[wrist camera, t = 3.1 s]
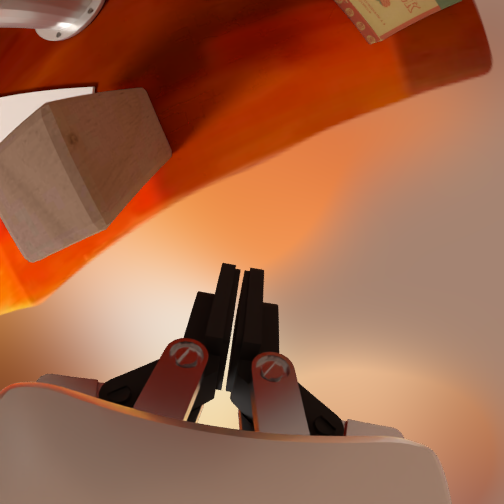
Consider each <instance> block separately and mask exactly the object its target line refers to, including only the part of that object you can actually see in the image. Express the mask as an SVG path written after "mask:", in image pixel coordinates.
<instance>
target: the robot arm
mask: <svg viewBox="0 0 504 504" xmlns="http://www.w3.org/2000/svg"><path fill="white" fill-rule="evenodd" d="M104 2H105V0H0V27H13V28H34V29H35V30H36V32H37V33H38V34H39V36H40V37H42V38H44V39H46V40H50V41H60V40H65V39H68V38H71V37H72V36H74V35H76V34H78V33H79V32H80V31H82V30H83V29H84V28H85V27H87V26H88V25H89V24H90V23H91V22H92V20H93V19H94V18H95V17H96V16H97V14H98V13H99V11H100V10H101V8H102V6H103V4H104ZM235 267H236V265H231V264H226V263H223V264H222V267H221V272H220V275H219V279H218V283H217V288H216V292H215V294H210V293H205V292H198V293H197V296H196V299H195V302H194V305H193V309H192V312H191V315H190V318H189V322H188V325H187V328H186V332H185V335H184V338H180V339H177V340H174V341H173V342H171V343H169V344H168V346H167V347H166V349H165V350H164V352H163V354H162V356H161V357H160V359H159V360H156V361H154V362H152V363H149V364H147V365H144V366H142V367H140V368H137V369H135V370H132V371H130V372H128V373H125V374H123V375H120V376H118V377H115V378H113V379H111V380H109V381H107V382H105V383H99V382H98V380H95V379H85V378H77V377H70V376H62V375H55V374H46V375H43V376H41V377H40V378H39V379H38V380H37V381H36V382H22V383H15V384H12V385H9V386H7V387H6V388H4V389H3V390H2V391H1V392H0V504H452V503H451V498H450V493H449V488H448V484H447V480H446V477H445V473H444V471H443V468H442V465H441V463H440V461H439V459H438V457H437V455H436V454H435V453H434V452H433V450H431V449H430V448H429V447H427V446H425V445H423V444H421V443H418V442H415V441H412V440H408V439H404V437H403V435H402V433H401V432H399V431H398V430H397V429H395V428H392V427H386V426H380V425H375V424H370V423H364V422H359V421H355V420H350V419H348V420H347V421H342V420H341V419H340V418H339V417H338V416H337V415H336V414H335V413H334V412H332V411H331V410H330V409H329V408H327V407H326V406H325V405H324V404H323V403H321V402H320V401H319V400H318V399H317V398H316V397H314V396H313V395H312V394H311V393H310V392H309V391H307V390H306V389H305V388H304V387H302V386H301V385H300V384H299V383H298V382H297V377H296V373H295V369H294V366H293V364H292V362H291V361H290V360H289V359H288V358H287V357H285V356H284V355H282V354H279V321H278V320H279V319H278V318H279V317H278V305H277V304H271V303H264V302H263V285H264V270H261V269H255V268H250V271H245V272H244V277H243V282H242V288H241V293H240V298H239V304H238V309H237V314H236V320H235V326H234V333H233V340H232V348H231V355H230V362H229V370H228V377H227V385H226V391H230V392H231V396H230V399H231V401H232V402H233V404H235V405H236V407H237V408H238V409H239V410H238V417H239V430H237V429H229V428H223V427H216V426H210V425H204V424H199V423H198V420H199V417H200V415H201V412H202V409H203V405H204V404H205V403H206V402H208V401H210V400H212V399H213V398H214V395H215V389H218V390H221V388H222V382H223V376H224V371H225V365H226V360H227V354H228V348H229V343H230V336H231V330H232V323H233V317H234V310H235V303H236V296H237V290H238V282H239V276H240V270H239V269H235Z"/></svg>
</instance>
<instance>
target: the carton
mask: <svg viewBox="0 0 504 504" xmlns="http://www.w3.org/2000/svg"><path fill="white" fill-rule="evenodd" d="M334 1H335V2H336V4H337V5H338V6H339V7H340V8H341V9H342V10H343V12H344V13H345V14H346V15H347V16H348V18H349V19H350V20H351V21H352V22H353V24H354V25H355V26H356V27H357V29H358V30H359V31H360V33H361V34H362V35H363V37H364V38H365V40H366V41H367V42H368V43H369V44H373V43H376V42H380V41H383V40H384V39H386V38H388V37H389V36H391V35H393V34H394V33H396V32H398V31H400V30H402V29H404V28H405V27H407V26H409V25H411V24H413V23H415V22H417V21H419V20H421V19H423V18H425V17H427V16H429V15H431V14H433V13H435V12H437V11H440V10H442V9H444V8H446V7H449V6H451V5H453V4H456V3H458V2H460V1H462V0H334Z"/></svg>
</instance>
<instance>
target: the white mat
mask: <svg viewBox="0 0 504 504" xmlns="http://www.w3.org/2000/svg"><path fill="white" fill-rule="evenodd" d="M92 93H95V87H80V88H66V89H55V90H46V91H38V92H30V93H23V94H17V95H11V96H5V97H0V142H1V141H2V140H3V139H5V138H6V137H7V136H8V135H9V134H10V133H11V132H12V131H13V130H14V129H15V128H16V127H17V126H18V125H20V124H21V123H22V122H23V121H24V120H25V119H26V118H28V117H29V116H30V115H31V114H32V113H33V112H35V111H36V110H37V109H38V108H39V107H41V106H42V105H43V104H44V103H46V102H51V101H55V100H60V99H65V98H70V97H75V96H80V95H86V94H92Z"/></svg>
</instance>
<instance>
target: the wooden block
mask: <svg viewBox="0 0 504 504" xmlns="http://www.w3.org/2000/svg"><path fill="white" fill-rule="evenodd" d="M171 156H172V150H171V148H170V145H169V143H168V141H167V139H166V136H165V134H164V132H163V129H162V127H161V125H160V122H159V120H158V118H157V115H156V113H155V111H154V108H153V106H152V103H151V101H150V99H149V96H148V94H147V92H146V90H144V89H143V88H142V87H141V88H131V89H121V90H113V91H106V92H99V93H92V94H86V95H80V96H75V97H70V98H65V99H60V100H55V101H51V102H46V103H44V104H43V105H42V106H41V107H39V108H38V109H37V110H36V111H35V112H33V113H32V114H31V115H30V116H29V117H28V118H26V119H25V120H24V121H23V122H22V123H21V124H20V125H18V126H17V127H16V128H15V129H14V130H13V131H12V132H11V133H10V134H9V135H8V136H7V137H6V138H5V139H3V140H2V141H1V142H0V217H1V219H2V220H3V222H4V224H5V226H6V228H7V230H8V231H9V233H10V235H11V236H12V238H13V240H14V242H15V243H16V245H17V247H18V248H19V250H20V251H21V253H22V255H23V256H24V258H25V259H27V260H28V261H29V262H36V261H39V260H41V259H43V258H45V257H47V256H49V255H51V254H53V253H55V252H57V251H60V250H62V249H64V248H66V247H68V246H70V245H72V244H74V243H76V242H79V241H81V240H83V239H85V238H87V237H90V236H92V235H94V234H96V233H98V232H101V231H103V230H105V229H107V227H108V226H109V225H110V224H111V223H112V221H113V220H114V219H115V218H116V217H117V215H118V214H119V213H120V212H121V211H122V210H123V208H124V207H125V206H126V205H127V204H128V203H129V202H130V200H131V199H132V198H133V197H134V196H135V195H136V194H137V193H138V191H139V190H140V189H141V188H142V187H143V186H144V185H145V184H146V183H147V182H148V181H149V179H150V178H151V177H152V176H153V175H154V174H155V173H156V172H157V171H158V170H159V169H160V168H161V167H162V166H163V165H164V164H165V163H166V162H167V161H168V160H169V159H170V158H171Z"/></svg>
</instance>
